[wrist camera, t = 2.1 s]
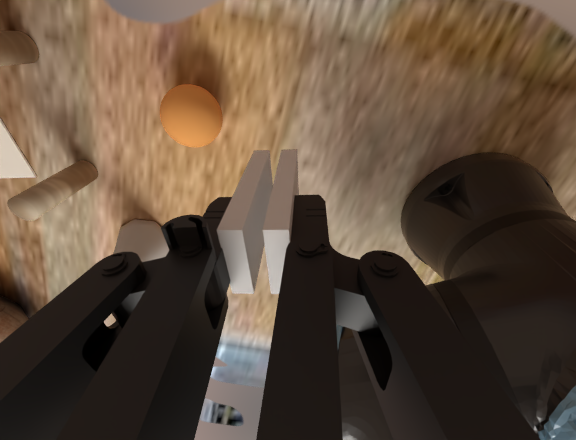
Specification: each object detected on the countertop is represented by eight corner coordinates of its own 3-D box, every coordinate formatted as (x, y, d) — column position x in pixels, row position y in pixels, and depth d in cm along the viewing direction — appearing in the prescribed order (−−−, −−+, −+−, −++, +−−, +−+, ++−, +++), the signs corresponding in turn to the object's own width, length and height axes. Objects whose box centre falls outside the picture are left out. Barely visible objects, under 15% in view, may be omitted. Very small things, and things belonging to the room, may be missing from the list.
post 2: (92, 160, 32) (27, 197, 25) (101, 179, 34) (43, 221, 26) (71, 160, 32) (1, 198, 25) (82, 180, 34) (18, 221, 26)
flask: (182, 254, 40) (149, 311, 32) (139, 259, 41) (97, 316, 33) (158, 213, 36) (114, 266, 28) (112, 221, 37) (57, 274, 29)
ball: (222, 78, 26) (204, 87, 22) (232, 136, 29) (218, 154, 25) (167, 81, 27) (138, 91, 22) (183, 137, 30) (160, 156, 25)
